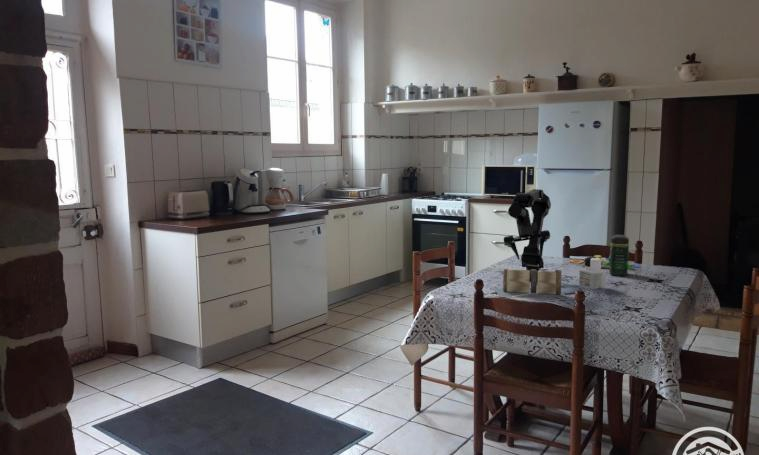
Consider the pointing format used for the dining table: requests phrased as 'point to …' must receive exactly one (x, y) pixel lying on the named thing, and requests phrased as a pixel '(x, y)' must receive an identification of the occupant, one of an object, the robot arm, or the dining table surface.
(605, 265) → the shape sorter
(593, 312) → the dining table surface
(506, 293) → the card
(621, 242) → the coffee jar
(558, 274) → the fixed fence section
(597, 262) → the container
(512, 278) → the hinged fence panel
